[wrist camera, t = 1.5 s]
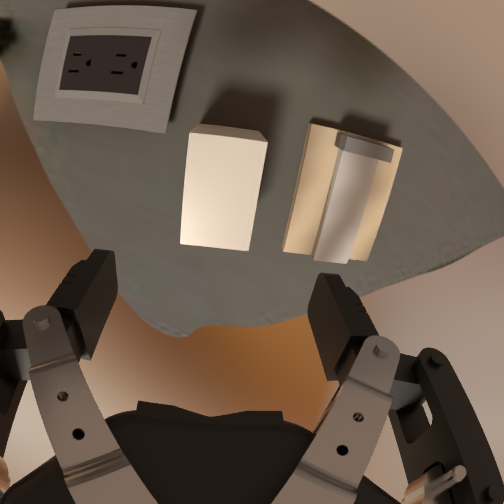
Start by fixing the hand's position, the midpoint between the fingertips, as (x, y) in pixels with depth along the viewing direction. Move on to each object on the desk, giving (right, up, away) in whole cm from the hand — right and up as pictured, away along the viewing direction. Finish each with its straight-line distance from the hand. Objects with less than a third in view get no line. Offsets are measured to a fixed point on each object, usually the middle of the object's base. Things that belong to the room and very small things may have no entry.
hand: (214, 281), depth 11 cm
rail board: (+10, +6, +16) cm, 19 cm away
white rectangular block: (-1, +8, +14) cm, 16 cm away
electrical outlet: (-10, +17, +9) cm, 22 cm away
